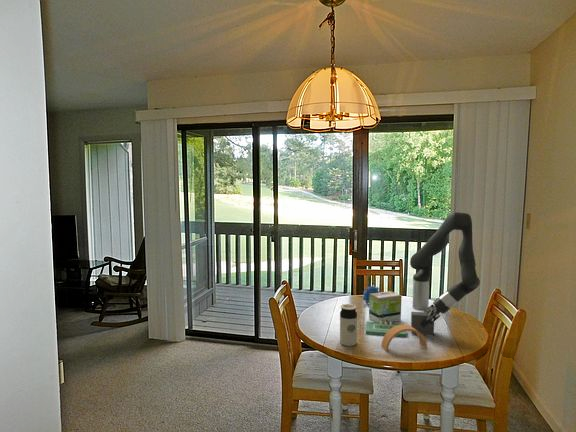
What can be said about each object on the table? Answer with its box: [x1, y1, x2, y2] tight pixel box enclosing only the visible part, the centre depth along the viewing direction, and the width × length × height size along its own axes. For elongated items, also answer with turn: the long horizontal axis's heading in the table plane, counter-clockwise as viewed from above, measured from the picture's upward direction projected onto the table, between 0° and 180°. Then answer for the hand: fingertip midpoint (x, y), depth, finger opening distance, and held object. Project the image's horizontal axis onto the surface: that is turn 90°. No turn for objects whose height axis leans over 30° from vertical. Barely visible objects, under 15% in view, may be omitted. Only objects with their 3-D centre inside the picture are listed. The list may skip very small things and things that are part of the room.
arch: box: [381, 324, 428, 352], centre depth 177 cm, size 6×20×10 cm, turn 98°
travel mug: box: [339, 303, 358, 347], centre depth 182 cm, size 8×8×18 cm
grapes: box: [362, 284, 381, 305], centre depth 243 cm, size 12×7×12 cm, turn 104°
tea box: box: [368, 290, 402, 323], centre depth 213 cm, size 15×10×15 cm
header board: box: [365, 321, 408, 338], centre depth 198 cm, size 14×20×4 cm
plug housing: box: [410, 311, 435, 337], centre depth 194 cm, size 5×10×10 cm, turn 77°
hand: (420, 323), depth 194 cm, fingers open, 8 cm apart
